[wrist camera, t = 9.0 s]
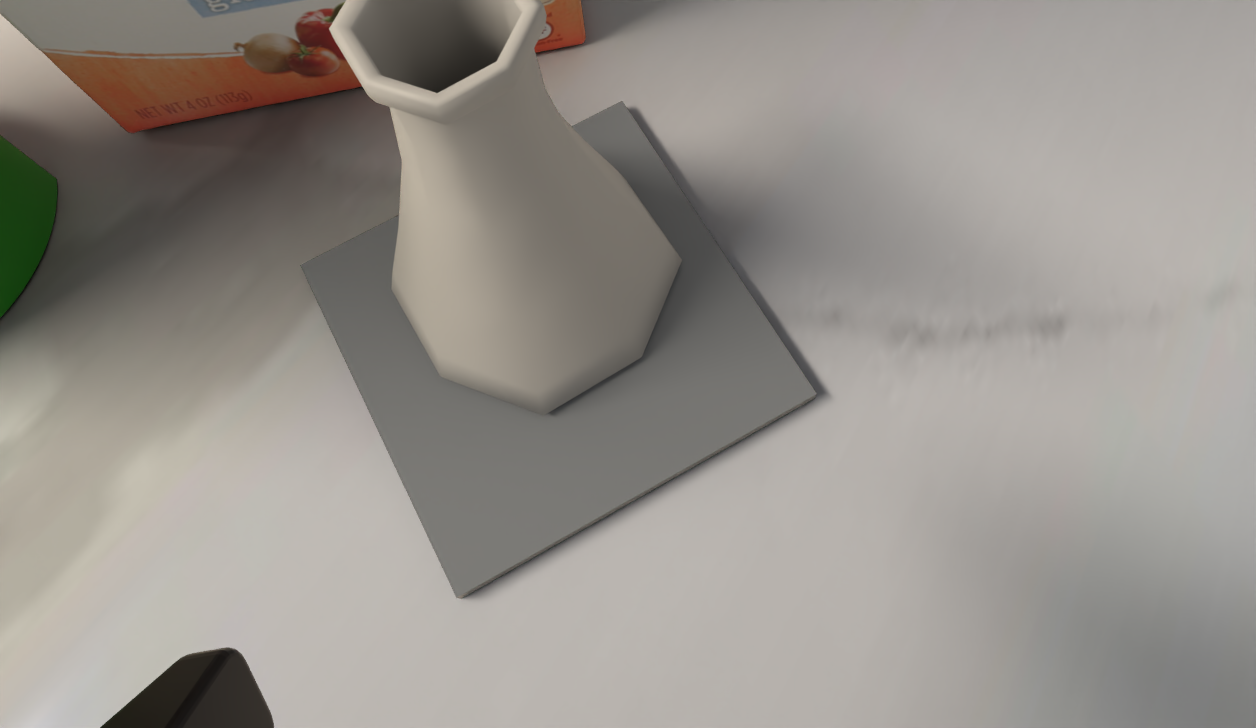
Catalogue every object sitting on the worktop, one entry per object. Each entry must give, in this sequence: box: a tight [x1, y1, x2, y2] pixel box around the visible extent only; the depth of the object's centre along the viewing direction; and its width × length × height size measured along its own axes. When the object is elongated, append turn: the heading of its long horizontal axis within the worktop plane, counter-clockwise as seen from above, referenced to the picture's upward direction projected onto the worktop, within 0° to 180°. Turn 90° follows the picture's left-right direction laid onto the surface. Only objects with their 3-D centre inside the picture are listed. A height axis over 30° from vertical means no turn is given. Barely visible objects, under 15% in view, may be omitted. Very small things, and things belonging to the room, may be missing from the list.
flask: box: [329, 0, 682, 416], centre depth 18 cm, size 7×7×10 cm
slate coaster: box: [300, 101, 817, 599], centre depth 23 cm, size 10×10×1 cm
